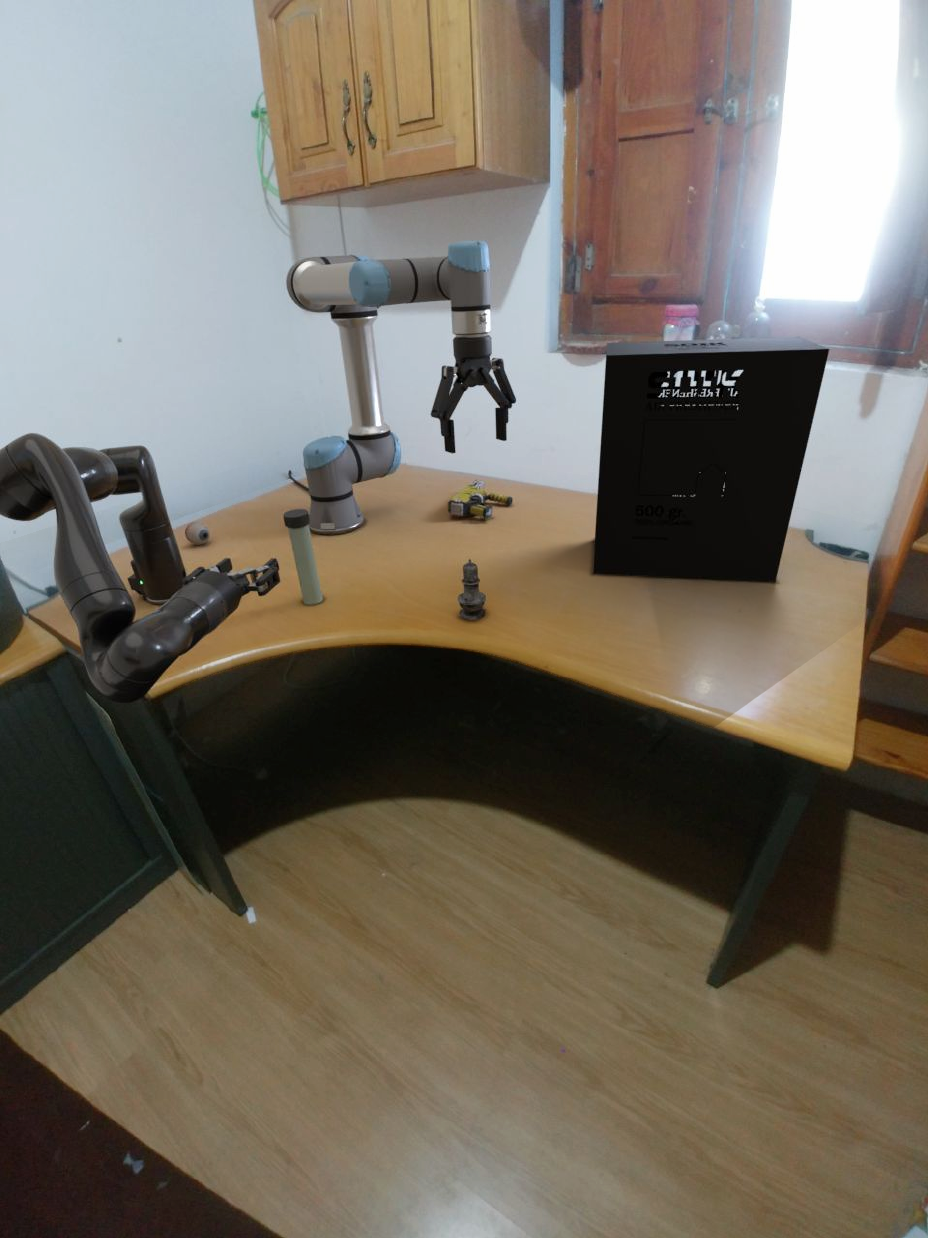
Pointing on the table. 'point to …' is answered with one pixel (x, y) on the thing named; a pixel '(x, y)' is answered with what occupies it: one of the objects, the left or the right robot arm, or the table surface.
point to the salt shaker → (471, 594)
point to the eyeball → (197, 533)
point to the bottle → (305, 565)
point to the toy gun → (475, 501)
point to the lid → (296, 518)
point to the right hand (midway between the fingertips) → (476, 445)
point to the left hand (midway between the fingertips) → (252, 563)
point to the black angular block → (703, 455)
